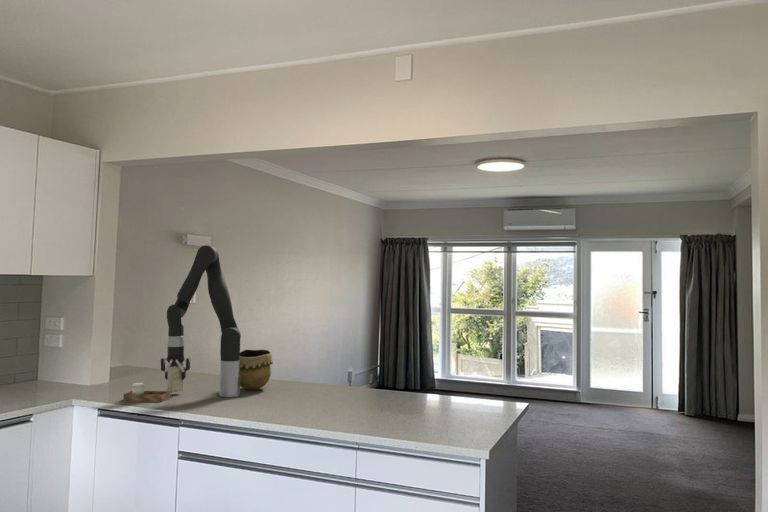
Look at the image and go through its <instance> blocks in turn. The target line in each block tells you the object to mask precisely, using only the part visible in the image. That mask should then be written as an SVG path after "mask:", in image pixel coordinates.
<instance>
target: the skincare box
mask: <svg viewBox="0 0 768 512" xmlns="http://www.w3.org/2000/svg"><path fill="white" fill-rule="evenodd" d="M166 381H167V382H166V383H167V385H166V386H167V388H166V391H170V394H173V393H174V394H175V393H180V392H184V380H182V370H181V369H180V368H179V366H178V367H176V366H173V367H169V368H168V376H167V380H166Z"/></svg>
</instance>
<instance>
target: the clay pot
mask: <svg viewBox="0 0 768 512" xmlns="http://www.w3.org/2000/svg"><path fill="white" fill-rule="evenodd" d="M273 364H274V361H273V356H272V352H271V351H270V350H268V349H265V348H264V349H263V348H262V349H249V348H248V349H247V348H246V349H244V350H242V351H241V350H240V371H239V375H240V388H243V389H245V390H249V391H250V390H251V391H254V390H259V389H261V388H264V387H265V386H266V385H267V383H268V382H269V381H270V378H271V375H272V371H271V370H272V369H271V365H273Z"/></svg>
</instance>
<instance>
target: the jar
mask: <svg viewBox="0 0 768 512" xmlns="http://www.w3.org/2000/svg"><path fill="white" fill-rule="evenodd" d="M131 389H132V390H131V391H132V394H144V391H145V383H144V382H134V383H132V387H131Z"/></svg>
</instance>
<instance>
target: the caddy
mask: <svg viewBox="0 0 768 512" xmlns="http://www.w3.org/2000/svg"><path fill="white" fill-rule="evenodd" d="M170 398H171V393H170V391H167V390H144V394H132V390H131V391H128V392H126V393H124V394H123V399H122V400H123V402H149V403H150V402H151V403H152V402H153V403H155V402H156V403H157V402H158V403H160V402H162V403H163V402H165V401H166V400H168V399H170Z"/></svg>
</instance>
